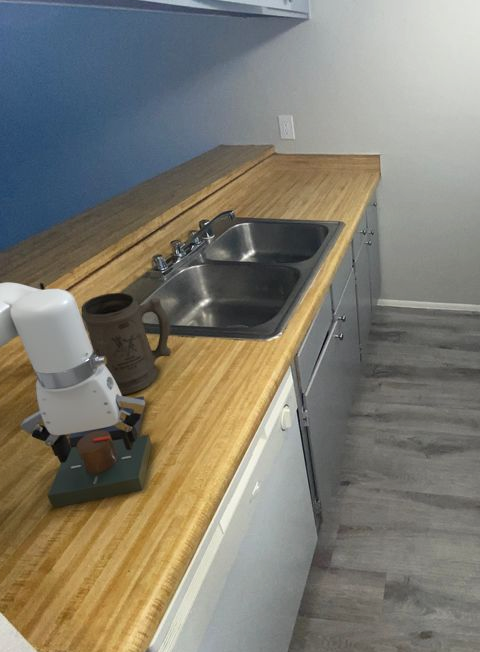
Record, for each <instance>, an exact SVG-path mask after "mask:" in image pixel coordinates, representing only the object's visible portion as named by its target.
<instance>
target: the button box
mask: <svg viewBox="0 0 480 652" xmlns="http://www.w3.org/2000/svg"><path fill="white" fill-rule="evenodd" d="M134 398H135V399H141V400H145V396H144V395H142V396H135V397H134ZM145 401H146V400H145ZM146 405H147V402H146V403H145V407H144V409H143V412H142V414H141V417H140V419H139V421H138V422H137V423H136V424H135V425H134V427H135V430H136V433H137V436H139V433H140V428H141V424H142V421H143V417H144V413H145V409H146ZM122 410H124V411H126V412H128V413H130V414H131V413H132V412H133V411H134V410H133V409H129V408H123V409H122ZM119 419H121V418H119ZM121 420H123V419H121ZM123 421H125V420H123ZM101 430H102V431H107V432H109V433H110V436H111V438H112V441H113V440H119V439H123V438H122V436H121V432H122V430H121V429H119V428H117V427H115V426H113V425H112V426H109V427H105V428H99V429H94V430H88V431H83V432H77V433H71V434H69V435H68V441H69V444H70V446H71V448H73V447H77V444H78V442H79V440H80V439H81V438H83V437H84V436H85V435H87V434H89V433H91V432H95V431H101Z"/></svg>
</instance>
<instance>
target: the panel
mask: <svg viewBox="0 0 480 652" xmlns="http://www.w3.org/2000/svg"><path fill="white" fill-rule="evenodd" d="M112 441H113V444H114V447H115V450H116V453H117V456H118V458H117V461H116V463H115V464H114V465H113V466H112V467H111V468H110V469H108V470H106V471H104V472H101V473H97V474H91V473H88V472H87V471H86V470H85V467H84V465H83V462H82V460H81V457H80V455H79V452H78V450H77V446H73V447H71V451H70V453H69V456H68V458H67V461H65V462H64V463H60V465H59V467H58V469H57V472H56V474H55V475H54V476H55V477H54V478H53V481H52V484H51V486H50V488H49V490H48V492H47V498H48V500H49V502H50V504H51V506H52V508H53V509H55V508H59V507H65V506H70V505H75V504H79V503H86V502H90V501H95V500H100V499H104V498H105V499H106V498H110V497H115V496H120V495H125V494H129V493H135V492H139V491H143V489H144V483H145V480H146V475H147V470H148V466H149V461H150V458H151V453H152V450H153V449H152V448H153V444H152V441H151V437H150V434H149V433H148V434H144V435H137V440H136V441H135V442H134V443H133V447H132V450H126V447H125V444H124V441H123V438H120V439H114V440H112Z"/></svg>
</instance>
